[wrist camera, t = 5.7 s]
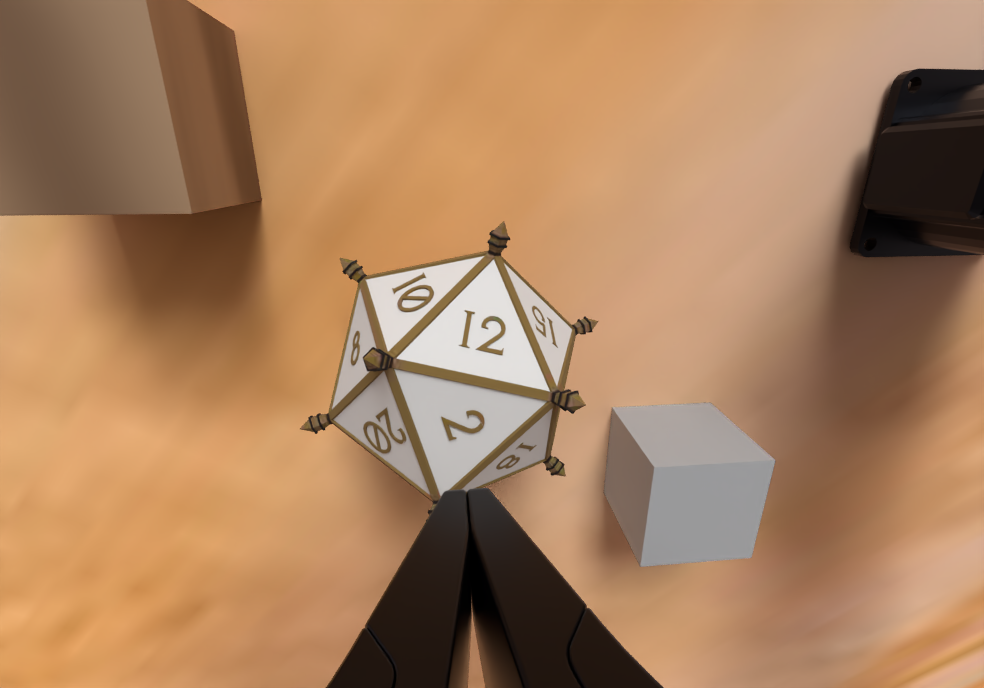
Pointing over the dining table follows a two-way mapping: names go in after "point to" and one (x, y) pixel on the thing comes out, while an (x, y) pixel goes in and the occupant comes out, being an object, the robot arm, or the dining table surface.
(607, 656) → the robot arm
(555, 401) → the game die
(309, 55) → the dining table surface
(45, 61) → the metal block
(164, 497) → the dining table surface
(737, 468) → the slate block
